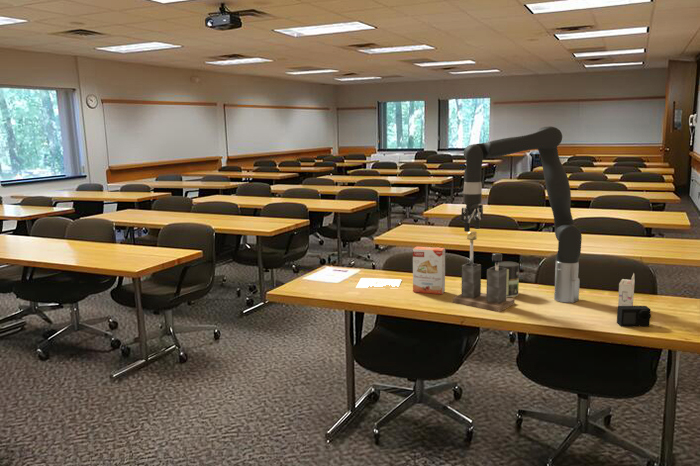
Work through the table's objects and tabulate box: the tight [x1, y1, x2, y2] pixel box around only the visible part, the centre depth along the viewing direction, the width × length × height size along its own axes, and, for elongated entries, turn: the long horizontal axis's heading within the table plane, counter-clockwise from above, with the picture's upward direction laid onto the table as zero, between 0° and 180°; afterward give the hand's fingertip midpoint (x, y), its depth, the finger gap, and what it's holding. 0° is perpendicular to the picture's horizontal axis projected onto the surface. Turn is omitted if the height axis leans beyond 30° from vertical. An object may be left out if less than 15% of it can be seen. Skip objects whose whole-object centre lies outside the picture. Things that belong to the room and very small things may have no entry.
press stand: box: [452, 262, 515, 313], centre depth 242 cm, size 22×14×16 cm, turn 49°
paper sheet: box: [355, 277, 403, 289], centre depth 273 cm, size 24×29×1 cm
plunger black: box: [491, 252, 503, 271], centre depth 238 cm, size 4×4×18 cm
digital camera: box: [616, 305, 652, 328], centre depth 212 cm, size 10×5×7 cm, turn 86°
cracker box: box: [412, 245, 446, 295], centre depth 260 cm, size 14×6×21 cm, turn 68°
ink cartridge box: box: [617, 273, 636, 307], centre depth 229 cm, size 9×5×15 cm, turn 148°
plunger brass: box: [466, 230, 478, 267], centre depth 244 cm, size 4×4×18 cm
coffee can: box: [499, 260, 520, 298], centre depth 254 cm, size 10×10×14 cm
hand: (472, 230), depth 242 cm, fingers open, 8 cm apart
